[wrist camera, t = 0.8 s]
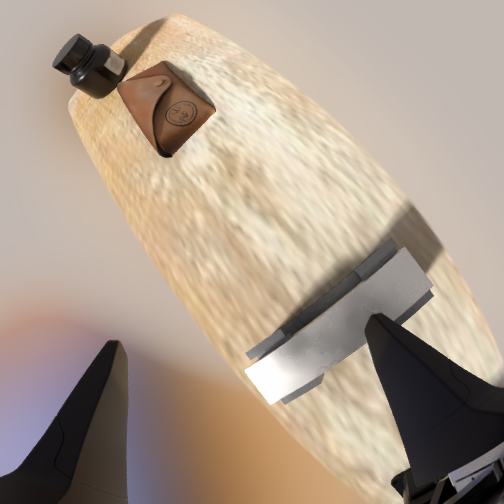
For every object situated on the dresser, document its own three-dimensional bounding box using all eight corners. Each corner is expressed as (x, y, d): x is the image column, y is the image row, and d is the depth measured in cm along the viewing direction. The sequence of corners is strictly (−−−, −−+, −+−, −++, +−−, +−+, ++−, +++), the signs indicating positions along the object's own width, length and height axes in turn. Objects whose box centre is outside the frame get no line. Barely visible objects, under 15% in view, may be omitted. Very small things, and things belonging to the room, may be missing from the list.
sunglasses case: (222, 108, 27) (170, 104, 23) (199, 156, 32) (150, 160, 27) (162, 58, 33) (123, 55, 28) (148, 96, 37) (110, 96, 33)
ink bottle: (135, 68, 35) (88, 32, 24) (101, 107, 37) (50, 78, 25) (119, 56, 38) (79, 26, 26) (90, 90, 39) (47, 65, 28)
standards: (412, 290, 20) (433, 295, 14) (301, 375, 22) (284, 404, 17) (380, 247, 21) (391, 237, 15) (271, 335, 24) (245, 352, 18)
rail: (421, 284, 15) (433, 285, 13) (281, 388, 18) (270, 404, 15) (396, 251, 16) (404, 246, 14) (258, 358, 19) (244, 370, 16)
